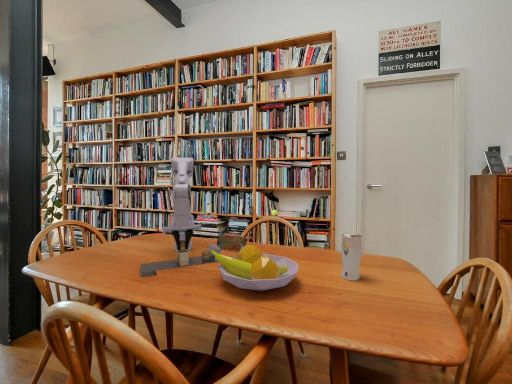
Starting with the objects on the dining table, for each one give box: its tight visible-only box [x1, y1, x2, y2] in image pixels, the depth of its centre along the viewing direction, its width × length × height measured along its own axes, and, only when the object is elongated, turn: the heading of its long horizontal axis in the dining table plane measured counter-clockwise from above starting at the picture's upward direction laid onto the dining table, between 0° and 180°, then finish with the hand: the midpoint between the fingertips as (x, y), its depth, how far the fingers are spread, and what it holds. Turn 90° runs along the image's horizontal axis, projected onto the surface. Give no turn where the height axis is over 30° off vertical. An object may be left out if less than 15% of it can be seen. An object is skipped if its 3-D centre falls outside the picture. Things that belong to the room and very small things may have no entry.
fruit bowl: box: [211, 244, 299, 292], centre depth 90 cm, size 28×27×11 cm
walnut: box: [201, 249, 211, 261], centre depth 109 cm, size 4×4×4 cm
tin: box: [216, 234, 248, 253], centre depth 123 cm, size 15×3×8 cm, turn 62°
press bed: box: [139, 243, 222, 278], centre depth 105 cm, size 10×30×6 cm, turn 116°
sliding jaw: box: [176, 240, 190, 266], centre depth 104 cm, size 8×3×8 cm, turn 26°
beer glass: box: [340, 232, 363, 281], centre depth 94 cm, size 7×7×15 cm
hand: (182, 249), depth 104 cm, fingers closed on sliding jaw, 2 cm apart
